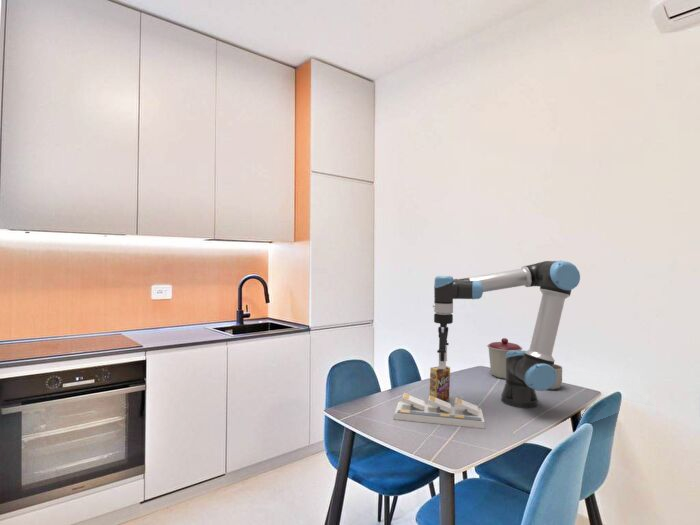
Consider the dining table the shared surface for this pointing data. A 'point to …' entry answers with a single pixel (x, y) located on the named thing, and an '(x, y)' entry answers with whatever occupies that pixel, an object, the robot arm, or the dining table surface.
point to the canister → (500, 356)
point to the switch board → (439, 416)
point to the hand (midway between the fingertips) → (443, 364)
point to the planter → (557, 377)
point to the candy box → (440, 383)
